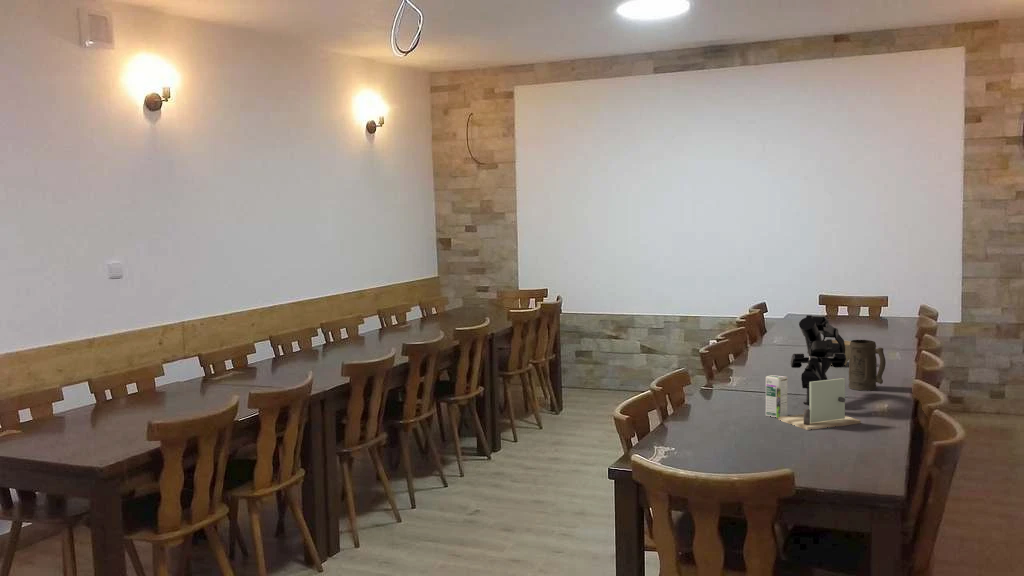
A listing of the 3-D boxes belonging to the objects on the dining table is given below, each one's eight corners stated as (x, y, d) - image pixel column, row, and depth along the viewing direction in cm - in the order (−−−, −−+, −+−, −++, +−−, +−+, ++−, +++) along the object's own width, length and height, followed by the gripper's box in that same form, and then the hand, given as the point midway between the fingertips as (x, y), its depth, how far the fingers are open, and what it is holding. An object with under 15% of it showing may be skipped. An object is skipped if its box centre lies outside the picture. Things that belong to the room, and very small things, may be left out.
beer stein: (841, 388, 345) (845, 340, 342) (854, 384, 352) (857, 337, 349) (878, 395, 333) (882, 346, 331) (890, 391, 341) (894, 343, 338)
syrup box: (764, 416, 302) (764, 376, 300) (774, 413, 305) (773, 374, 304) (778, 418, 297) (778, 378, 296) (788, 415, 301) (787, 376, 300)
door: (809, 422, 285) (809, 381, 284) (842, 417, 290) (842, 378, 289) (814, 423, 283) (814, 383, 282) (848, 419, 287) (848, 379, 286)
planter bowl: (810, 363, 402) (810, 341, 402) (838, 361, 407) (838, 339, 406) (832, 369, 387) (832, 345, 386) (861, 366, 392) (861, 343, 391)
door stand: (777, 419, 296) (777, 403, 295) (829, 413, 302) (829, 397, 302) (807, 430, 280) (807, 412, 280) (860, 423, 287) (860, 406, 287)
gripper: (792, 332, 306) (798, 367, 296) (845, 331, 304) (853, 366, 294) (787, 349, 315) (794, 384, 305) (839, 349, 312) (847, 384, 302)
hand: (822, 379), depth 301 cm, fingers closed
